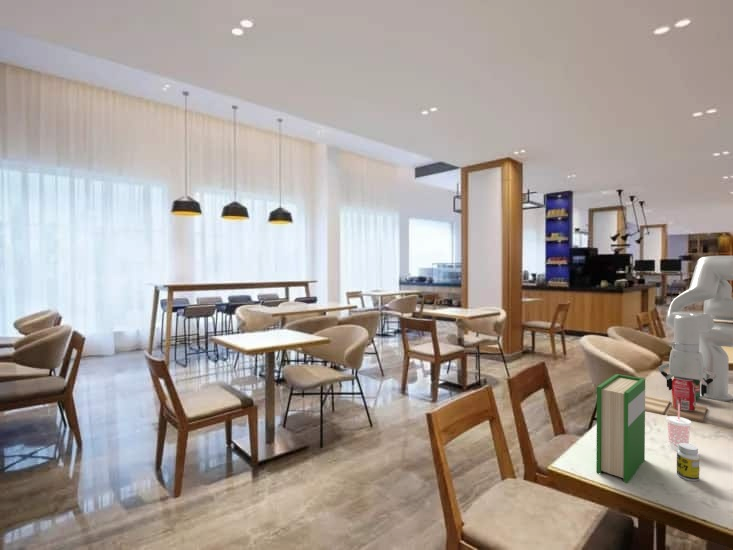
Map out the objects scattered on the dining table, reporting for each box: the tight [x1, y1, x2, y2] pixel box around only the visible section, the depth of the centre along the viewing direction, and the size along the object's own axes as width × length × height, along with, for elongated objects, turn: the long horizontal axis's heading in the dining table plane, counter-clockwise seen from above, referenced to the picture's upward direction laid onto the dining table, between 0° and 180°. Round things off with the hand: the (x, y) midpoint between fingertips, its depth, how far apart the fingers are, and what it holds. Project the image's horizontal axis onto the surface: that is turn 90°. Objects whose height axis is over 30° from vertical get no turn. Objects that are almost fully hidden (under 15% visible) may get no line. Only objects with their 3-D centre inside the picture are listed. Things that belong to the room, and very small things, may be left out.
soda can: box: [671, 376, 697, 412], centre depth 150 cm, size 7×7×12 cm
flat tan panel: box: [645, 395, 671, 415], centre depth 157 cm, size 18×10×2 cm, turn 136°
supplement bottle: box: [676, 443, 701, 482], centre depth 106 cm, size 5×5×8 cm
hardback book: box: [595, 373, 646, 484], centre depth 112 cm, size 18×7×24 cm, turn 133°
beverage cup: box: [665, 403, 693, 451], centre depth 122 cm, size 6×6×14 cm
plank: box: [666, 404, 708, 424], centre depth 149 cm, size 18×10×2 cm, turn 136°
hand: (686, 392), depth 150 cm, fingers open, 9 cm apart
